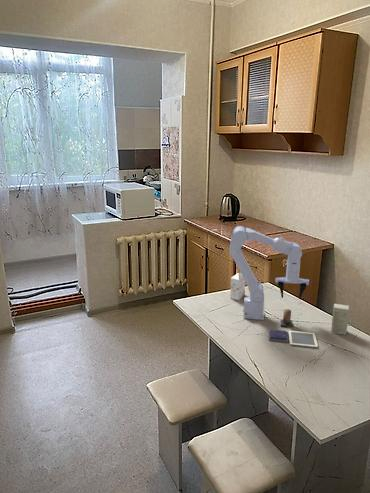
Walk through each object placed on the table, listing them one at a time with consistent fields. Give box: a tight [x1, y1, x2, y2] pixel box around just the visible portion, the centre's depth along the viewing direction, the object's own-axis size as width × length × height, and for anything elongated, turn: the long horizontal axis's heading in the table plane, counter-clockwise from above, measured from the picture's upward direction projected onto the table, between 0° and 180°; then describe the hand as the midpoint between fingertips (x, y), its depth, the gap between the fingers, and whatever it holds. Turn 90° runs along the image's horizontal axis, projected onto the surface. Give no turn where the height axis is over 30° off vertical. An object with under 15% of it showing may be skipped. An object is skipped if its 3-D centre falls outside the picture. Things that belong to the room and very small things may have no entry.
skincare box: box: [330, 303, 350, 336], centre depth 161 cm, size 6×4×12 cm
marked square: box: [287, 330, 319, 349], centre depth 156 cm, size 11×11×1 cm
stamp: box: [280, 308, 294, 329], centre depth 168 cm, size 5×5×7 cm
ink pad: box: [267, 329, 289, 344], centre depth 158 cm, size 8×7×2 cm
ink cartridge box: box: [230, 272, 246, 301], centre depth 196 cm, size 9×5×15 cm, turn 148°
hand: (290, 297), depth 172 cm, fingers open, 7 cm apart
